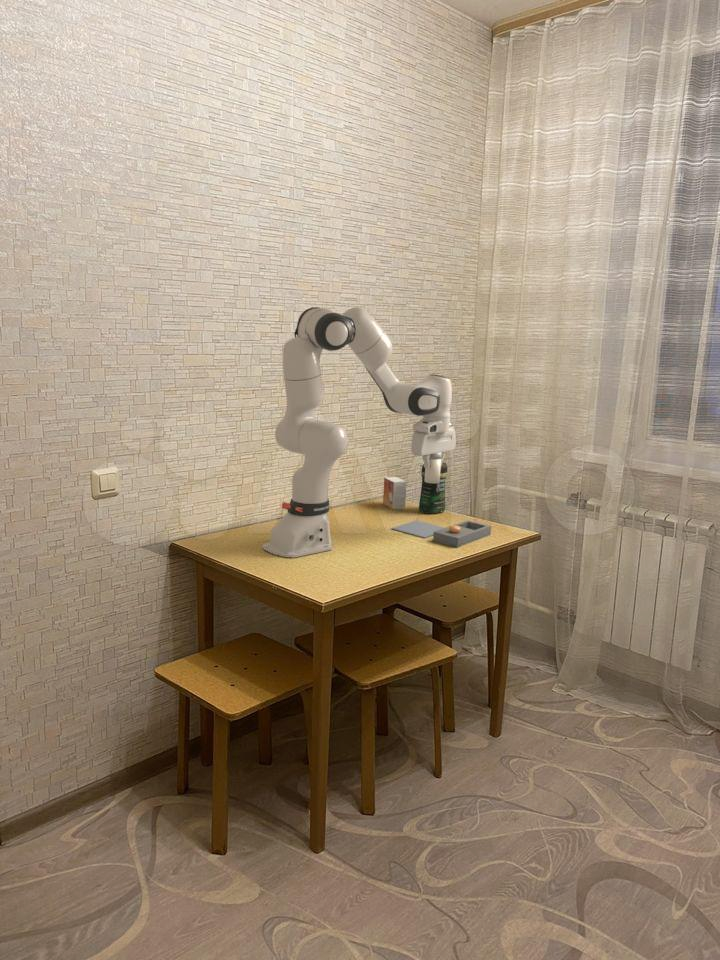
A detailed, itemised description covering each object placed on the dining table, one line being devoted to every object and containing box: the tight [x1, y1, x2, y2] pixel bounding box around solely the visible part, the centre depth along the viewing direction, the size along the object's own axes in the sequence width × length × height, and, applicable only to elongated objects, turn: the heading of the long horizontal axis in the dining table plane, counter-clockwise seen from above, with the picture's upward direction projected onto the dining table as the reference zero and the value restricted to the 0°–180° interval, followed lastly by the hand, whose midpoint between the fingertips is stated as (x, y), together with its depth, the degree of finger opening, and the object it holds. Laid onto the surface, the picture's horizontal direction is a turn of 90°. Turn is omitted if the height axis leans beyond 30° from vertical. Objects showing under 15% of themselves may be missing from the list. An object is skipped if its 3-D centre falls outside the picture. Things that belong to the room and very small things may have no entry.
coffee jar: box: [418, 461, 449, 515], centre depth 272 cm, size 10×8×19 cm
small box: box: [382, 476, 408, 510], centre depth 278 cm, size 8×6×10 cm
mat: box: [390, 519, 446, 539], centre depth 250 cm, size 14×14×1 cm
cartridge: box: [424, 452, 442, 483], centre depth 244 cm, size 5×5×10 cm
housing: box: [432, 519, 492, 548], centre depth 243 cm, size 20×9×3 cm, turn 139°
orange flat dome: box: [448, 524, 461, 533], centre depth 239 cm, size 4×4×1 cm
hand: (432, 466), depth 244 cm, fingers closed on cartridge, 5 cm apart
